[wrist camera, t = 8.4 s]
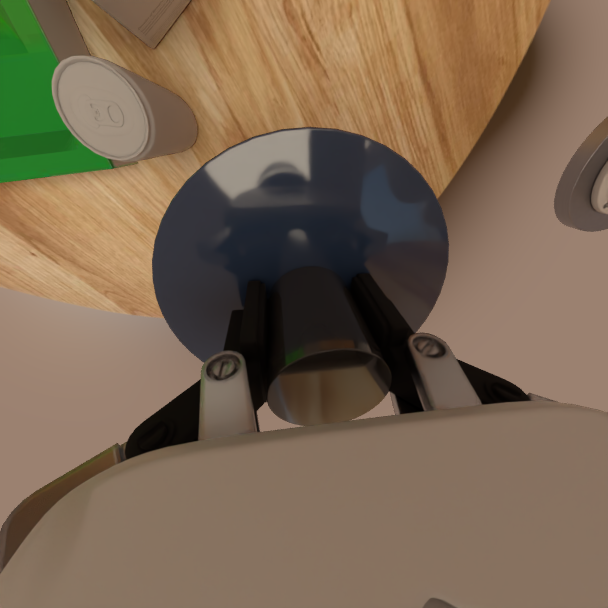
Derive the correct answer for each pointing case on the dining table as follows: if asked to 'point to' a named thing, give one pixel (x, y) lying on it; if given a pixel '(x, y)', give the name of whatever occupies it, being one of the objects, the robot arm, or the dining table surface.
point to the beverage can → (120, 111)
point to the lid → (302, 260)
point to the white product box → (145, 16)
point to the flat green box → (38, 93)
